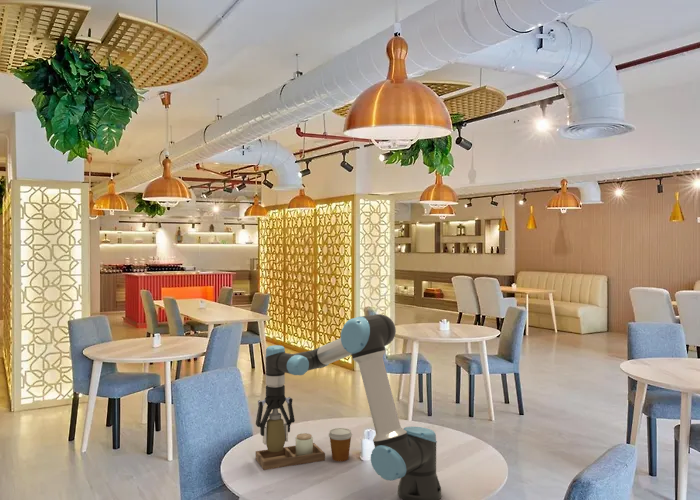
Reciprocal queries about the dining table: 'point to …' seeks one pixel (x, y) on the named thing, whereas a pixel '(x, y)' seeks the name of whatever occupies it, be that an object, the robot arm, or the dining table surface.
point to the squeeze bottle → (275, 432)
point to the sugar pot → (304, 444)
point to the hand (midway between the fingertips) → (275, 441)
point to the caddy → (287, 457)
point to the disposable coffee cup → (340, 443)
